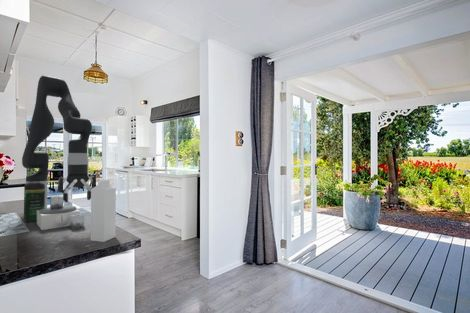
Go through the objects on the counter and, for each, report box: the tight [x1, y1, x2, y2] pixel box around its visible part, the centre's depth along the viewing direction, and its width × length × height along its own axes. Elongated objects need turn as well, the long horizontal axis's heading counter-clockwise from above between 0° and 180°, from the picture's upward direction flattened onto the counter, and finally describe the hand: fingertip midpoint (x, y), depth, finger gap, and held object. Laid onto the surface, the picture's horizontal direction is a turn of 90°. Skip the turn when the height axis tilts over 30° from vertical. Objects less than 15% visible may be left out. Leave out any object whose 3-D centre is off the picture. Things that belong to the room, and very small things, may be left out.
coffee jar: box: [23, 181, 45, 223], centre depth 124 cm, size 10×8×19 cm
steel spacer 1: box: [49, 195, 64, 209], centre depth 120 cm, size 5×5×5 cm
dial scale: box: [36, 205, 81, 231], centre depth 118 cm, size 14×14×7 cm
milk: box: [90, 179, 117, 243], centre depth 97 cm, size 6×6×22 cm
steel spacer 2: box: [70, 213, 85, 230], centre depth 113 cm, size 5×5×5 cm
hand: (77, 200), depth 113 cm, fingers open, 8 cm apart
